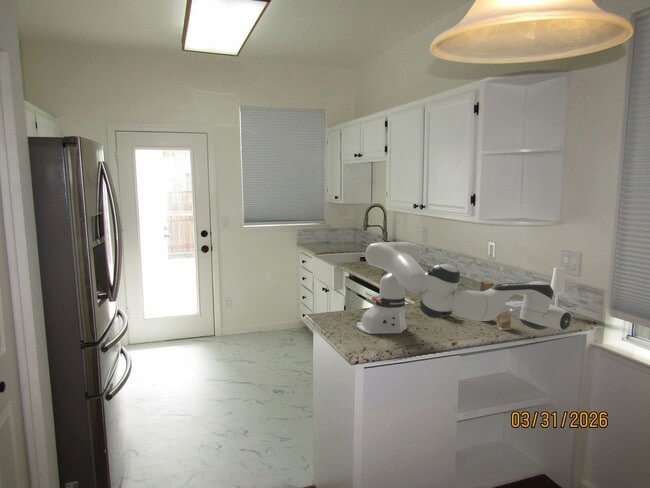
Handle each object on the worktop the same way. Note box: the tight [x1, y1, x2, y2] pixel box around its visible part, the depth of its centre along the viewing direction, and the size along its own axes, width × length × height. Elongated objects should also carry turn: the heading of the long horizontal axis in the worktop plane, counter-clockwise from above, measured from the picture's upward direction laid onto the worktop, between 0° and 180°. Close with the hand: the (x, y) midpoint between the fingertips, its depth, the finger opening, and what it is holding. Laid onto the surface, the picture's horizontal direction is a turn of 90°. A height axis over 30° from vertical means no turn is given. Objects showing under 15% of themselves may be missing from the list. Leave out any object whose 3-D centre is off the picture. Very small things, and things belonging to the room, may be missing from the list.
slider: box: [479, 280, 495, 291], centre depth 215 cm, size 4×6×16 cm, turn 109°
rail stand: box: [492, 311, 514, 331], centre depth 213 cm, size 25×7×7 cm, turn 18°
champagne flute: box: [550, 266, 566, 307], centre depth 229 cm, size 7×7×24 cm
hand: (511, 302), depth 199 cm, fingers closed
